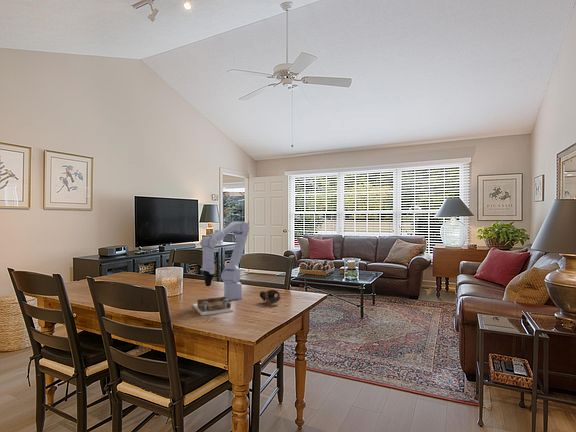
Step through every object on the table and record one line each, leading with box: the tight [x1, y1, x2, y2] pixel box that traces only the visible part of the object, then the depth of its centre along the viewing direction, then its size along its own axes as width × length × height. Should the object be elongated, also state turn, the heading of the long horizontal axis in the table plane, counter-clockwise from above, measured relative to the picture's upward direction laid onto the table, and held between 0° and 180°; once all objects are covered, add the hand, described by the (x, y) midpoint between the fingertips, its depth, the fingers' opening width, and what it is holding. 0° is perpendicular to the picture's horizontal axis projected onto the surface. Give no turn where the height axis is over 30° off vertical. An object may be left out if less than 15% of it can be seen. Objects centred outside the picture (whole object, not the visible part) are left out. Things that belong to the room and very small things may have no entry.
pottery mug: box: [259, 289, 281, 306], centre depth 180 cm, size 12×10×8 cm
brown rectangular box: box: [196, 296, 232, 311], centre depth 165 cm, size 14×9×4 cm, turn 119°
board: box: [192, 299, 234, 316], centre depth 168 cm, size 15×18×5 cm
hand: (208, 285), depth 175 cm, fingers closed
